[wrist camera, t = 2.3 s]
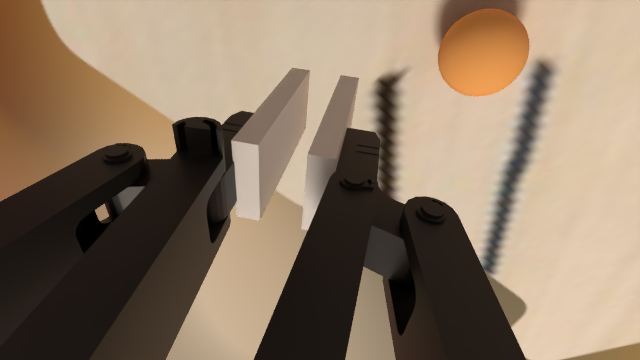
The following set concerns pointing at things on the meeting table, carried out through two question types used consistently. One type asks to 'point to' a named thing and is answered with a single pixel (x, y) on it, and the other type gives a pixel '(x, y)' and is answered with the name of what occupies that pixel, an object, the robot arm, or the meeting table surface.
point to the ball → (483, 52)
